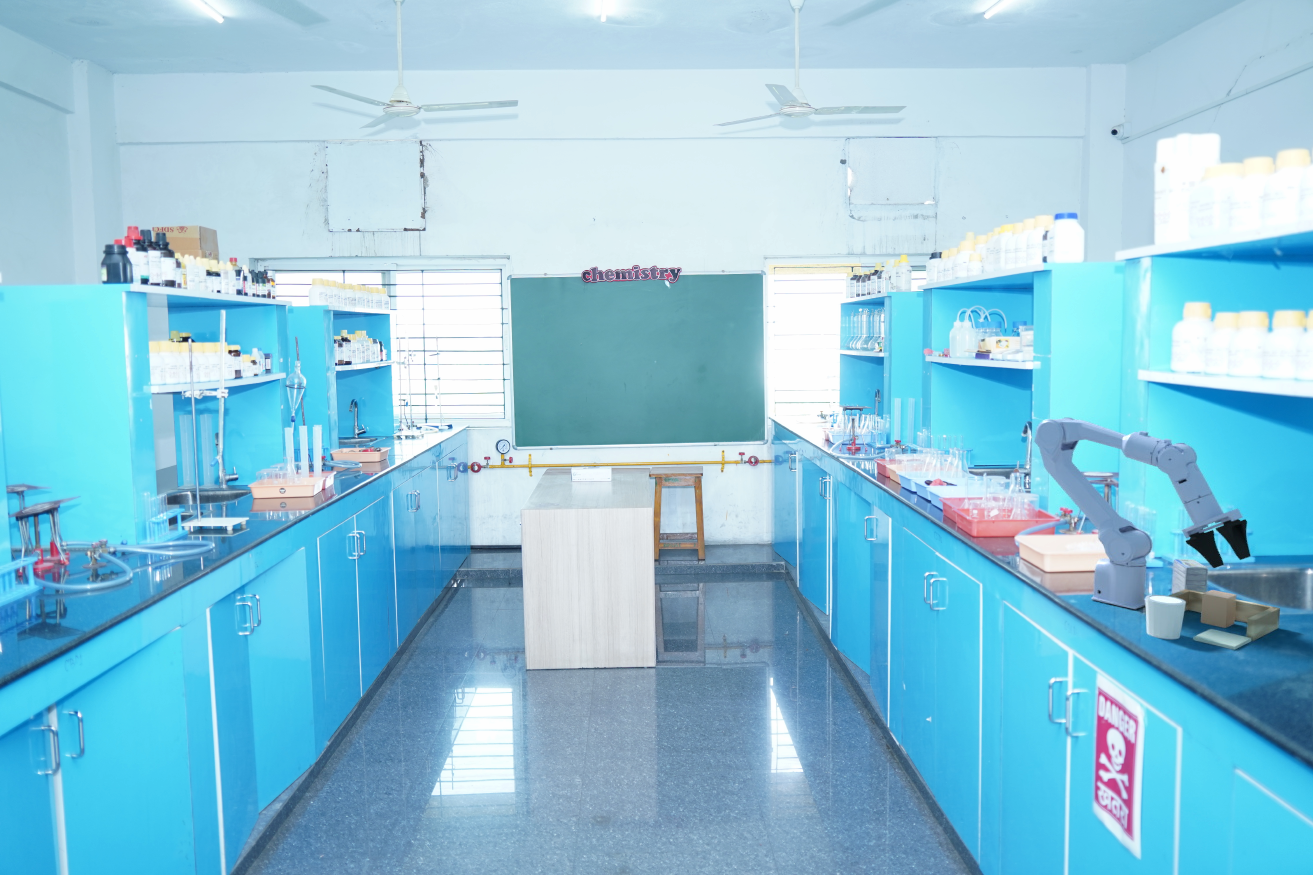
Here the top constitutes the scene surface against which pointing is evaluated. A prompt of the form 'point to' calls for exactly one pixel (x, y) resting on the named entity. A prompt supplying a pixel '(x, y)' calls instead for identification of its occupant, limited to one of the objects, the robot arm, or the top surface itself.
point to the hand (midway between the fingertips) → (1231, 562)
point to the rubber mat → (1222, 639)
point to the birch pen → (1239, 613)
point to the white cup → (1164, 616)
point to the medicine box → (1189, 576)
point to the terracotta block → (1218, 608)
